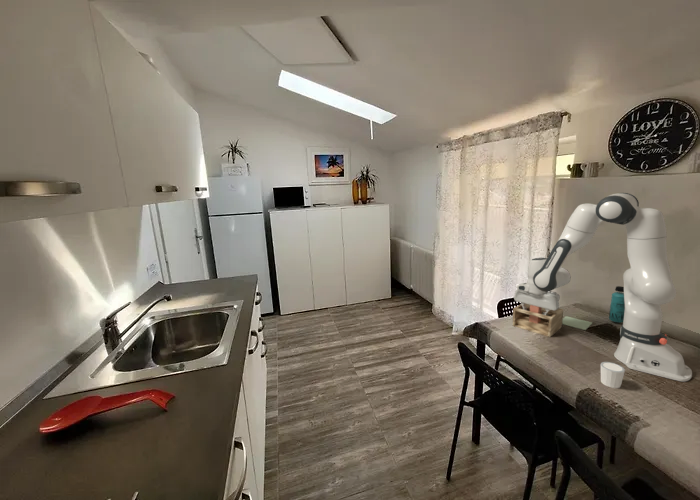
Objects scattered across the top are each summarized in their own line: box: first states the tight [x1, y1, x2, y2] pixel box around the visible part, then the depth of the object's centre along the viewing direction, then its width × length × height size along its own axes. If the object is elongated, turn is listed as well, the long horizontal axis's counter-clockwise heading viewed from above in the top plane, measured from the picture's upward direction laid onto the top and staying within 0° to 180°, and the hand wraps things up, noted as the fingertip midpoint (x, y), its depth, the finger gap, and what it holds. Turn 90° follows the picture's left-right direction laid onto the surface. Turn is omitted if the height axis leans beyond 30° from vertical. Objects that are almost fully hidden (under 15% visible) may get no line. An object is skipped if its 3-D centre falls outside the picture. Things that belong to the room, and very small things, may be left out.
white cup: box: [600, 361, 626, 389], centre depth 112 cm, size 7×7×7 cm
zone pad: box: [562, 315, 593, 331], centre depth 161 cm, size 12×12×1 cm
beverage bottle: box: [608, 285, 625, 323], centre depth 157 cm, size 6×7×20 cm
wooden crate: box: [512, 303, 564, 338], centre depth 159 cm, size 18×16×10 cm
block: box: [529, 305, 542, 324], centre depth 156 cm, size 4×4×9 cm
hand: (534, 313), depth 156 cm, fingers open, 8 cm apart
